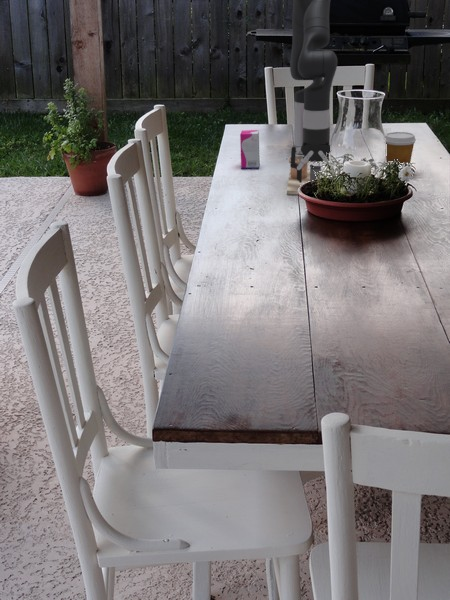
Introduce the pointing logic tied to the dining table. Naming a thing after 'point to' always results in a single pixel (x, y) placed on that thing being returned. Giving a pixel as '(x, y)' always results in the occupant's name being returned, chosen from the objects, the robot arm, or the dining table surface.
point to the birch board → (295, 184)
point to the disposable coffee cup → (399, 146)
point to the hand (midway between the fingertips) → (315, 182)
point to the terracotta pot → (294, 171)
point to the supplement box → (249, 149)
